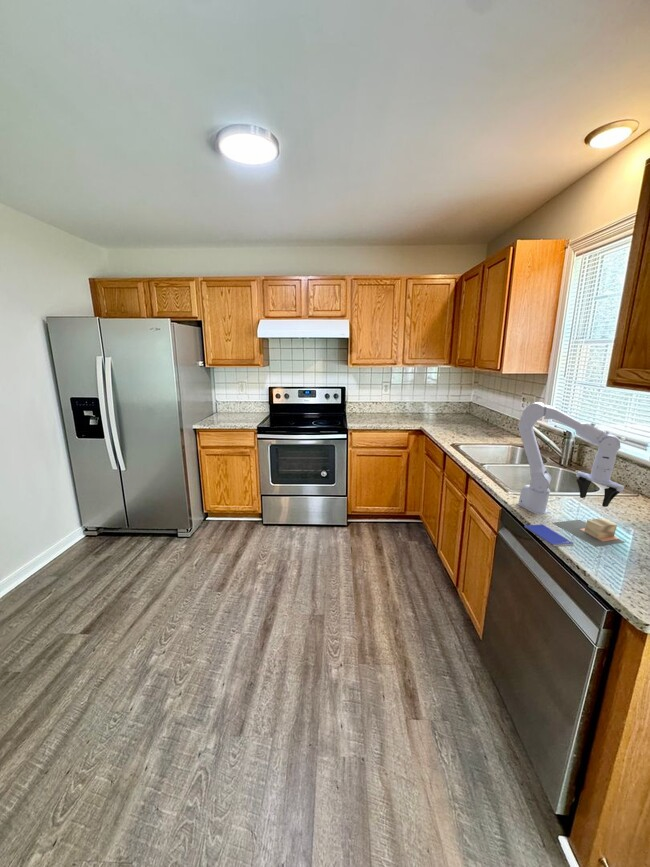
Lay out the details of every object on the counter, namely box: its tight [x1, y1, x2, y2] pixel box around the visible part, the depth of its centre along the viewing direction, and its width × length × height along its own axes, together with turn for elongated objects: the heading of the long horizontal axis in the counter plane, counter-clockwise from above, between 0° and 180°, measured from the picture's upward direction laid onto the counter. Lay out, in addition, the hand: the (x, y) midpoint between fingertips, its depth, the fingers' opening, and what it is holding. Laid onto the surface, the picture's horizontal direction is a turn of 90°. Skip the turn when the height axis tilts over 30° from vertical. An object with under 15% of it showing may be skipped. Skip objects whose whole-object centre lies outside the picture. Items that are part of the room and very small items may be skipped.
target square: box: [580, 528, 620, 541], centre depth 117 cm, size 8×8×1 cm
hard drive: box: [524, 524, 575, 547], centre depth 115 cm, size 2×8×12 cm
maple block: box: [584, 517, 618, 538], centre depth 117 cm, size 8×4×4 cm, turn 105°
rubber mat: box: [552, 519, 626, 547], centre depth 118 cm, size 16×14×1 cm
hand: (593, 501), depth 123 cm, fingers open, 7 cm apart
